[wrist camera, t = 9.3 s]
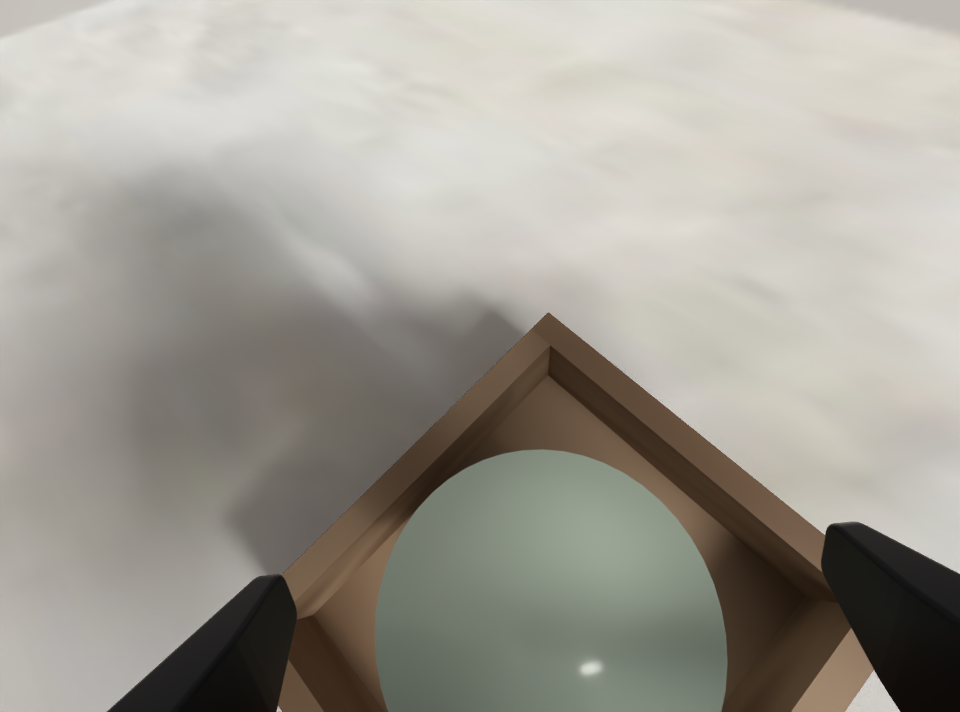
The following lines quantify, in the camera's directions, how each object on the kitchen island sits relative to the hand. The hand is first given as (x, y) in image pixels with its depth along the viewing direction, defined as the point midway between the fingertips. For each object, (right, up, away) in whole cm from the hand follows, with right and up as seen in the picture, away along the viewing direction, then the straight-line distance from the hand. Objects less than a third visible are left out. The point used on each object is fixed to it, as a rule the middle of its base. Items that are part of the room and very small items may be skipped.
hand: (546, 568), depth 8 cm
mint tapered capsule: (+1, -3, +7) cm, 8 cm away
